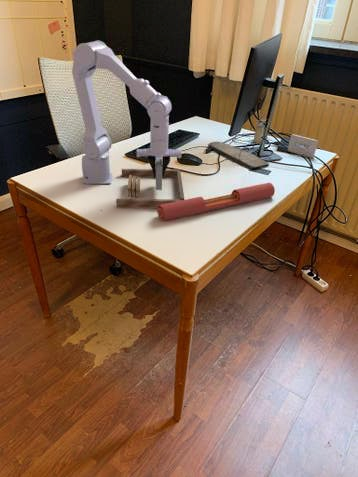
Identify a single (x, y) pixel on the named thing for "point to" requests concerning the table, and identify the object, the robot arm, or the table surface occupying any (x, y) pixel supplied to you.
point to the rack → (150, 202)
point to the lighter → (259, 131)
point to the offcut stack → (133, 186)
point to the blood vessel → (214, 202)
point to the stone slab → (237, 155)
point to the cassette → (301, 149)
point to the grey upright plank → (158, 173)
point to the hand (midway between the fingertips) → (158, 176)
